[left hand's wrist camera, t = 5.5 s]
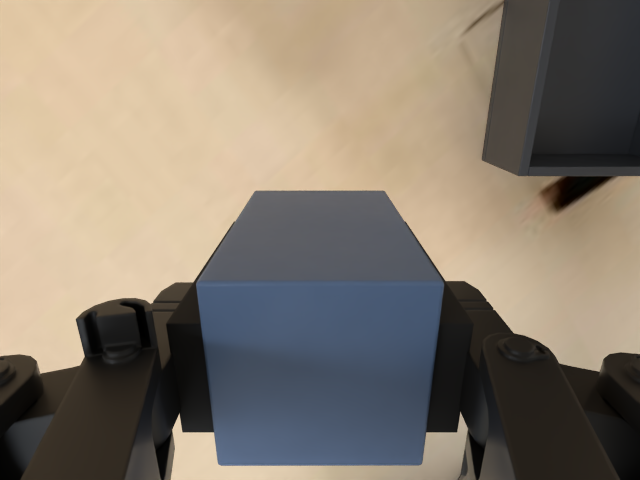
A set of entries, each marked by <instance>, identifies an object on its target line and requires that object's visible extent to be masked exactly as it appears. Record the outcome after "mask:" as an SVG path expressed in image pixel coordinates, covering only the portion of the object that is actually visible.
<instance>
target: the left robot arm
mask: <svg viewBox="0 0 640 480" xmlns="http://www.w3.org/2000/svg"><path fill="white" fill-rule="evenodd" d="M234 223H235V222H234ZM234 223H233V224H232V226H233V225H234ZM405 223H406V222H405ZM406 225H407V223H406ZM232 226H231V227H230V229H231V228H232ZM407 226H408V225H407ZM408 228H409V226H408ZM230 229H229V230H228V232H229V231H230ZM409 229H410V228H409ZM410 231H411V229H410ZM228 232H227V233H226V235H225V236H224V238H223V239H222V241H221V242H220V244H219V245H218V246H217V248H216V249H215V251H214V252H213V254H212V255H211V257H210V258H209V260H208V261H207V263H206V264H205V266H204V267H203V269H202V270H201V272H200V273H199V275H198V276H197V278H196V279H195V281H194V282H193V283H174V284H173V285H171V286H169V287H168V288H166V289H164V290H163V291H161V292H160V294H159V295H158V296H157V297H156V299H155V300H154V301H153V303H152V304H150V303H148V302H147V301H146V300H141V299H137V298H122V299H117V300H111V301H107V302H104V303H101V304H98V305H95V306H93V307H91V308H90V309H88V310H86V311H84V312H83V313H82V314H81V315H80V316H79V317H78V318H77V319H76V322H77V326H78V330H79V334H80V338H81V342H82V347H83V351H84V355H85V358H84V359H83V361H82V363H81V365H80V366H77V367H73V368H68V369H63V370H57V371H52V372H47V373H42V374H40V371H39V368H38V364H37V361H36V360H35V359H33V358H32V357H31V356H26V355H20V354H19V355H9V356H1V357H0V480H171V472H172V465H173V458H174V450H175V446H174V438H173V432H172V429H173V426H174V424H175V422H176V420H177V417H178V415H179V413H180V419H181V425H182V431H183V432H214V427H213V419H212V411H211V402H210V394H209V386H208V378H207V370H206V361H205V353H204V345H203V337H202V329H201V320H200V312H199V304H198V296H197V288H196V283H197V281H198V279H199V278H200V276H201V275H202V273H203V271H204V270H205V268H206V267H207V265H208V264H209V262H210V260H211V259H212V257H213V256H214V254H215V253H216V251H217V250H218V248H219V246H220V245H221V243H222V242H223V240H224V239H225V237H226V236H227V234H228ZM411 232H412V231H411ZM412 234H413V232H412ZM413 236H414V237H415V235H414V234H413ZM415 239H416V240H417V238H416V237H415ZM417 242H418V243H419V241H418V240H417ZM419 245H420V246H421V244H420V243H419ZM421 248H422V249H423V247H422V246H421ZM423 251H424V252H425V250H424V249H423ZM425 254H426V256H427V257H428V259H429V260H430V262H431V263H432V265H433V266H434V268H435V269H436V271H437V272H438V274H439V276H440V277H441V279H442V280H443V282H444V290H443V298H442V306H441V314H440V323H439V331H438V339H437V347H436V355H435V363H434V371H433V380H432V388H431V396H430V404H429V412H428V420H427V429H426V432H457V429H458V423H459V416H460V411H461V414H462V416H463V418H464V420H465V423H466V425H467V427H468V432H467V438H466V444H465V450H464V456H463V462H462V469H461V476H460V477H459V479H458V480H640V354H631V353H614V354H609V355H608V356H607V357H606V358H604V360H603V363H602V366H601V370H600V372H597V371H592V370H587V369H582V368H577V367H571V366H567V365H563V364H559V363H558V361H557V359H556V357H555V355H554V354H553V353H552V352H551V351H550V350H549V348H547V347H546V346H544V345H543V344H541V343H540V342H538V341H536V340H534V339H531V338H529V337H526V336H523V335H519V334H514V333H513V332H512V331H511V330H510V328H509V327H508V326H507V325H506V323H505V322H504V321H503V320H502V318H501V317H500V316H499V315H498V313H497V312H496V311H495V310H493V307H492V306H491V305H490V304H489V302H487V301H486V299H485V297H484V296H483V295H482V294H481V292H480V291H479V290H478V289H476V288H475V287H473V286H471V285H470V284H468V283H466V282H465V281H445V280H444V278H443V277H442V275H441V274H440V272H439V271H438V269H437V268H436V266H435V265H434V263H433V262H432V260H431V259H430V257H429V256H428V255H427V253H426V252H425Z"/></svg>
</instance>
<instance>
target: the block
mask: <svg viewBox="0 0 640 480" xmlns="http://www.w3.org/2000/svg"><path fill="white" fill-rule="evenodd" d="M196 288H197V296H198V304H199V312H200V320H201V329H202V337H203V345H204V353H205V361H206V370H207V378H208V386H209V394H210V402H211V411H212V419H213V427H214V435H215V443H216V451H217V460H218V464H219V465H221V466H280V465H421V464H422V461H423V453H424V445H425V437H426V429H427V420H428V412H429V404H430V396H431V388H432V380H433V371H434V363H435V355H436V347H437V339H438V331H439V323H440V314H441V306H442V298H443V290H444V282H443V280H442V279H441V277H440V276H439V274H438V272H437V271H436V269H435V268H434V266H433V265H432V263H431V262H430V260H429V259H428V257H427V256H426V254H425V252H424V251H423V249H422V248H421V246H420V245H419V243H418V242H417V240H416V239H415V237H414V236H413V234H412V232H411V231H410V229H409V228H408V226H407V225H406V223H405V222H404V220H403V219H402V217H401V216H400V214H399V212H398V211H397V209H396V208H395V206H394V205H393V203H392V202H391V200H390V199H389V197H388V196H387V194H386V193H385V191H255V192H254V193H253V195H252V197H251V198H250V200H249V201H248V203H247V204H246V206H245V207H244V209H243V211H242V212H241V214H240V215H239V217H238V218H237V220H236V222H235V223H234V225H233V226H232V228H231V229H230V231H229V232H228V234H227V236H226V237H225V239H224V240H223V242H222V243H221V245H220V246H219V248H218V250H217V251H216V253H215V254H214V256H213V257H212V259H211V260H210V262H209V264H208V265H207V267H206V268H205V270H204V271H203V273H202V275H201V276H200V278H199V279H198V281H197V283H196Z"/></svg>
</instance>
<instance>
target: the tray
mask: <svg viewBox="0 0 640 480" xmlns="http://www.w3.org/2000/svg"><path fill="white" fill-rule="evenodd" d="M482 160H483V161H485V162H487V163H490V164H492V165H494V166H497V167H499V168H501V169H504V170H506V171H508V172H511V173H513V174H515V175H518V176H640V0H505V1H504V8H503V15H502V23H501V30H500V37H499V44H498V51H497V58H496V65H495V72H494V79H493V86H492V93H491V100H490V107H489V114H488V121H487V128H486V135H485V142H484V149H483V156H482Z"/></svg>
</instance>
